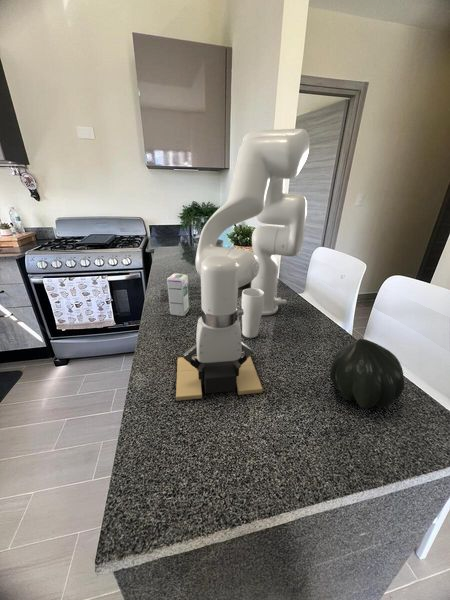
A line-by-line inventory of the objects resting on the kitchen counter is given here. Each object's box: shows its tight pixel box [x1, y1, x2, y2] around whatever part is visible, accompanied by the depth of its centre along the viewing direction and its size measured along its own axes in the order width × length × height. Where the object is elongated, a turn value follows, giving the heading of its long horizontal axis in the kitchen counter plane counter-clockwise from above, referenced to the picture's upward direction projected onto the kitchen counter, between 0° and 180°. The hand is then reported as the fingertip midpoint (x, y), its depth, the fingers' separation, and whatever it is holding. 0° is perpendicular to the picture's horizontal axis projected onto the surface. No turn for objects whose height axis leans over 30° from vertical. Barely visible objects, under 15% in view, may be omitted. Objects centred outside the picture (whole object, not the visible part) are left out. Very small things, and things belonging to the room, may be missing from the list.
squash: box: [329, 337, 405, 410], centre depth 57 cm, size 14×15×15 cm
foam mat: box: [175, 352, 263, 402], centre depth 64 cm, size 20×14×1 cm
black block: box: [204, 361, 236, 394], centre depth 60 cm, size 7×7×4 cm
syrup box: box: [166, 273, 190, 317], centre depth 92 cm, size 6×6×14 cm
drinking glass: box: [240, 287, 264, 339], centre depth 79 cm, size 7×7×15 cm
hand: (218, 378), depth 61 cm, fingers closed on black block, 7 cm apart
